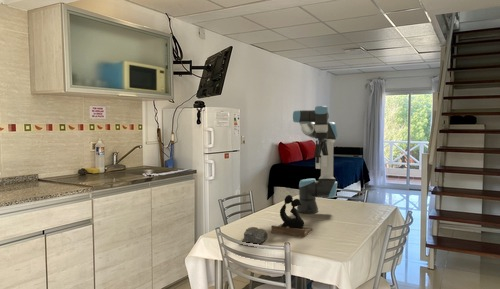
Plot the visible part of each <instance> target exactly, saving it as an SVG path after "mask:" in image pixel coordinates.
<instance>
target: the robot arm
mask: <svg viewBox="0 0 500 289" xmlns="http://www.w3.org/2000/svg"><path fill="white" fill-rule="evenodd" d="M328 108H329V107H328V106H327V105H317V106H315V107H314V109H313V110H312V109H311V110H310V109H309V110H308V109H306V110H305V109H304V110H303V109H302V110H300V109H299V110H293V113H292V122H294V123H299V126H300V129H301V131H302V133H303V135H305V136H306V137H309V138H313V139H316V141H315V148H314V155H313V157H314V158H315V169H316V170H317V169H318V170H320V176H319V178H318V180H316V178H306V179H305V178H304V179H300V181H299V184H298V191H299V192H298V193H299V195H298V199H299V200H300V203H301V205H298V206H296V209H297V210H298V212H299V214H316V213H318V212H319V207H318V204H317V202H316V198H328V199H330V198H331V199H332V198H335V197H336V195H337V189H338V181H336V177H334V143H335V142H336V141H337V140H336V139H338V138H339V136H338V129H337V123H336V122H333V121H329V119H330V113H329V110H328Z"/></svg>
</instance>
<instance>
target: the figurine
mask: <svg viewBox="0 0 500 289" xmlns="http://www.w3.org/2000/svg"><path fill="white" fill-rule="evenodd" d="M288 204H290V205H291V209H290V213H291V214H292V215H293V216H294V217H290V216H289V215H287V213H286V208H287V205H288ZM298 205H301V203H300V200H299V198H293V196H292V195H291V194H288V195H286V196H285V198H284V204H283V205H282V206H281V208H280V211H279V216H280V219H281V220H282V222H283V223H281V224H282V226H281V227H289V228H296V229H303V227H305V221H304V219H303V218H302V217H301V216H300V212H298V210H297V206H298Z"/></svg>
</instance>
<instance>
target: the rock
mask: <svg viewBox="0 0 500 289" xmlns="http://www.w3.org/2000/svg"><path fill="white" fill-rule="evenodd" d="M268 235H269V234H268V232H267V230H266V229H263V228H259V227H256V226H249V227H248V228H247V229H245V231H244V233H243V242H244V243H246V242H250V243H249V244H253V243H257V244H256V245H258V244H261V243H263V242H265V240H266V239H268V237H269V236H268Z"/></svg>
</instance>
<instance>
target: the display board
mask: <svg viewBox="0 0 500 289" xmlns="http://www.w3.org/2000/svg"><path fill="white" fill-rule="evenodd" d="M282 224H283V223H280V224H279V225H271V229H270V230H271V231H270V233H271V234H279V235H285V236H292V237H299V236H300V237H301V238H305V237H306V236H308V235H309V234H310V233H311V232H312V231H313V227H309V226H303V229H296V228H289V227H281V226H282ZM308 233H309V234H308ZM300 237H299V238H300Z"/></svg>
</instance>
